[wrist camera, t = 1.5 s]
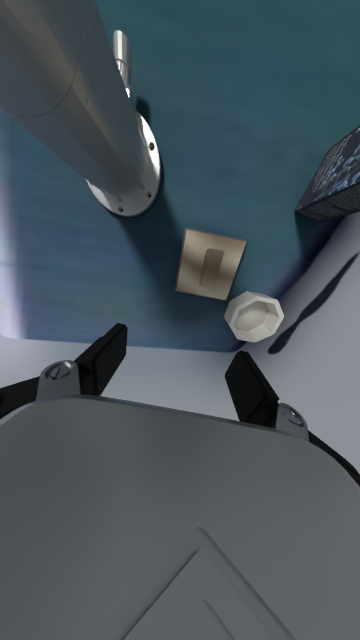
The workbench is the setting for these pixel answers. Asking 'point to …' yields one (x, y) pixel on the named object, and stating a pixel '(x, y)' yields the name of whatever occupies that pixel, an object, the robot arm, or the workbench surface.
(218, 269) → the beige plate with ridge
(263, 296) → the bowl
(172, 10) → the workbench surface
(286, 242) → the workbench surface
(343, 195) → the box
